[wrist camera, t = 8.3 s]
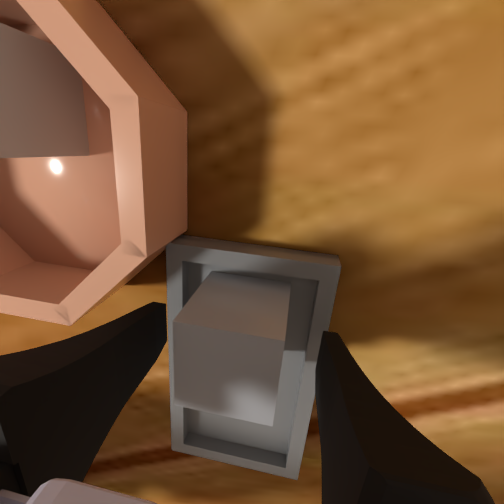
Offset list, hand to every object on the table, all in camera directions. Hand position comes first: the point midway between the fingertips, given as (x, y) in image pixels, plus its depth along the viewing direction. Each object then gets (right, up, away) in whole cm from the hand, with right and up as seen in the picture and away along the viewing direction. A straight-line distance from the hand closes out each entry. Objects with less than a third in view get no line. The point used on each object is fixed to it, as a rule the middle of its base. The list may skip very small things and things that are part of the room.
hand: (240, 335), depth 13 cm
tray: (0, -2, +4) cm, 5 cm away
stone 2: (0, +1, +2) cm, 2 cm away
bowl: (-9, +8, +2) cm, 12 cm away
